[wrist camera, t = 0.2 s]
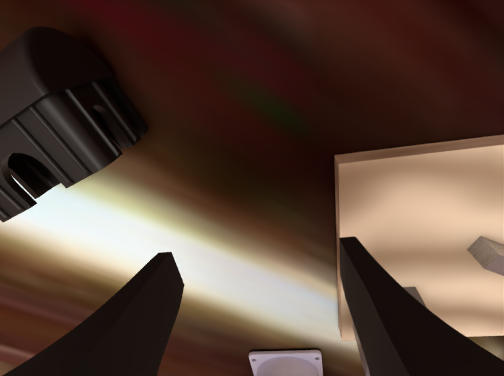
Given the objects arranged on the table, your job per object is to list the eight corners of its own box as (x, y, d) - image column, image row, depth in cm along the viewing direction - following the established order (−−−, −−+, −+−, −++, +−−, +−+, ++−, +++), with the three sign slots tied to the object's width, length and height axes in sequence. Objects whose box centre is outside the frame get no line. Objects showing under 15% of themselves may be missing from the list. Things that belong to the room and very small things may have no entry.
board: (501, 320, 27) (512, 335, 25) (338, 326, 29) (341, 340, 28) (577, 125, 18) (601, 133, 17) (334, 155, 20) (338, 163, 19)
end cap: (86, 24, 17) (-13, 21, 11) (156, 127, 20) (107, 167, 14) (-16, 101, 20) (-137, 131, 14) (59, 181, 23) (-16, 234, 17)
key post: (516, 249, 21) (538, 269, 19) (502, 262, 22) (522, 282, 20) (480, 235, 21) (499, 254, 19) (466, 249, 21) (484, 268, 20)
